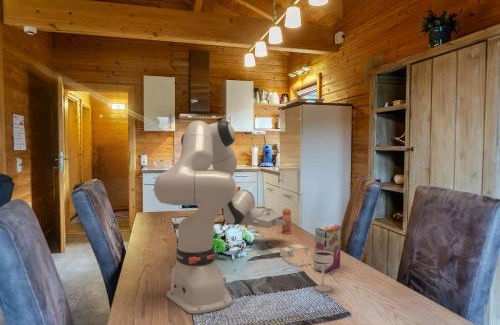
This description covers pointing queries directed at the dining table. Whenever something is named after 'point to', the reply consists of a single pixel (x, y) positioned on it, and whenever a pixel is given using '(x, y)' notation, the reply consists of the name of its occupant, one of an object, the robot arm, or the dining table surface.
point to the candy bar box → (329, 243)
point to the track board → (278, 249)
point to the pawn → (286, 217)
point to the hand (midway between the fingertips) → (288, 221)
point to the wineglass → (323, 264)
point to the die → (286, 252)
